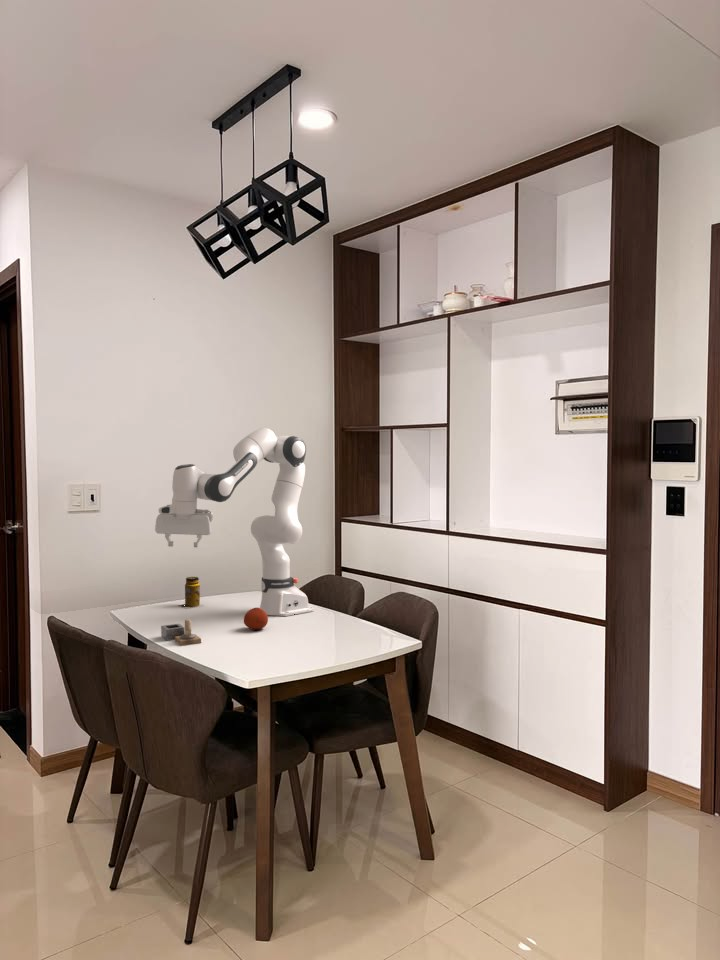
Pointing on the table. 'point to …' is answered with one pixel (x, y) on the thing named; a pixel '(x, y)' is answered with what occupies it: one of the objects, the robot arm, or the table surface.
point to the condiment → (192, 593)
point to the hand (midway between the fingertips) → (183, 546)
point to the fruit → (255, 619)
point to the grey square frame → (171, 631)
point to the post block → (187, 636)
